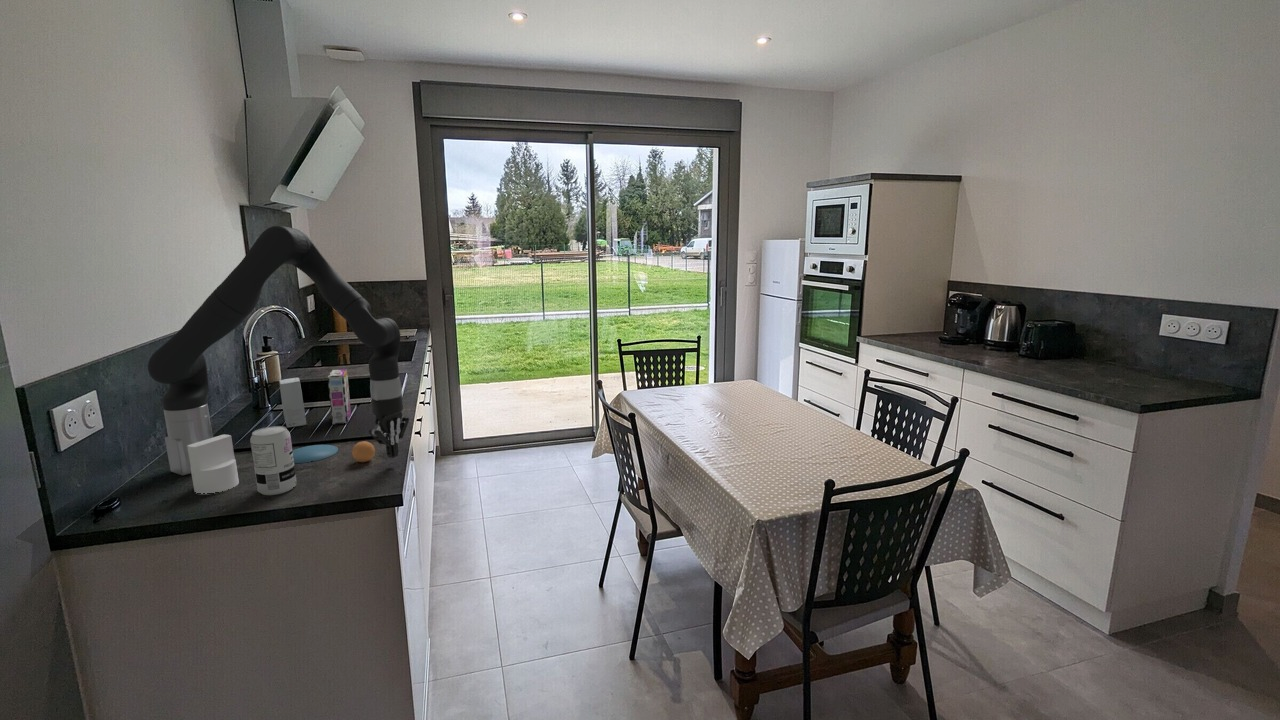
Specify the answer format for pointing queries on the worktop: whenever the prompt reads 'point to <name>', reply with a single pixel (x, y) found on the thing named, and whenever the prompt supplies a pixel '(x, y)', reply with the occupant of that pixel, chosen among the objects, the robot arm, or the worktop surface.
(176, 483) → the worktop surface
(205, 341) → the robot arm
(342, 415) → the candy bar box
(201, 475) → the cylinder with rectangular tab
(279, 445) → the supplement can
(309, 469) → the worktop surface
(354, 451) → the ball
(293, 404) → the skincare box
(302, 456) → the disc
